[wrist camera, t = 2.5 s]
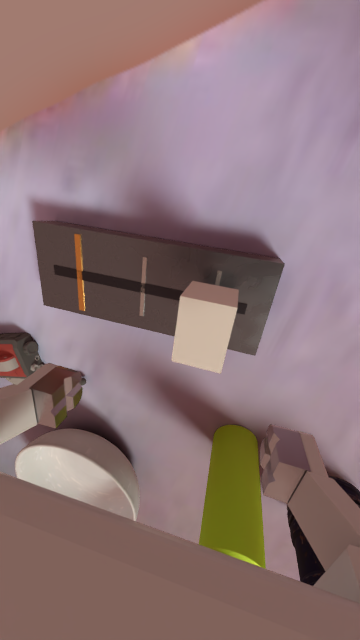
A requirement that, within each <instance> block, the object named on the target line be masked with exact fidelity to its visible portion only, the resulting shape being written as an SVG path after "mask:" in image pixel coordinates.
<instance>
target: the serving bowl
mask: <svg viewBox="0 0 360 640" xmlns="http://www.w3.org/2000/svg"><path fill="white" fill-rule="evenodd" d="M15 471H16V475H17V478H19V479H22V480H24V481H27V482H30V483H33V484H35V485H38V486H41V487H43V488H46V489H49V490H52V491H54V492H57V493H60V494H63V495H65V496H68V497H71V498H74V499H76V500H79V501H82V502H84V503H87V504H90V505H93V506H95V507H98V508H101V509H104V510H106V511H109V512H112V513H115V514H117V515H120V516H123V517H126V518H128V519H131V520H134V521H136V518H137V514H138V510H139V502H140V490H139V484H138V479H137V476H136V473H135V471H134V469H133V467H132V465H131V463H130V462H129V460H128V459H127V458H126V456H125V455H124V454H123V453H122V452H121V451H120V450H119V449H118V448H117V447H116V446H115V445H113V444H112V443H111V442H109V441H108V440H106V439H104V438H102V437H100V436H99V435H96V434H94V433H91V432H88V431H85V430H80V429H59V430H54V431H51V432H48V433H46V434H43V435H42V436H40V437H38V438H36V439H35V440H33V441H32V442H31V443H29V444H28V445H27V446H26V447H24V448H23V449H22V450H21V451H20V452H19V453H18V455H17V457H16V461H15Z"/></svg>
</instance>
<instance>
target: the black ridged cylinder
mask: <svg viewBox="0 0 360 640" xmlns="http://www.w3.org/2000/svg"><path fill="white" fill-rule="evenodd" d="M328 477H329V478H332V479H334V480H335V481H336V482H337V484H338V485H339V486H340V487H341V488H342V489H343V490H344V491H345V492H346V493H347V495H348V496H349V497H350V498H351V499H352V500H353V501H354V502H355V503H356V504H357V506H358V507H359V508H360V491H359V490H358V489H357V488H356V487H354V486H353V485H351V484H350V483H348V482H346V481H344V480H341V479H339V478H335V477H331V476H328ZM287 510H288V513H287V515H288V523H289V527H290V532H291V538H292V543H293V546H294V547H295V549H296V556H297V562H298V569H299V575H300V581H301V582H303V583H306V584H308V585H311V586H314V584H315V583H316V582H317V581H318V580H319V579H320V577H321V576H322V575H323V574H324V573H325V572H326V571H325V570H324V568H323V566H322V564H321V563H320V561H319V559H318V557H317V556H316V554H315V552H314V550H313V549H312V547H311V545H310V543H309V542H308V540H307V538H306V536H305V535H304V533H303V531H302V529H301V528H300V526H299V524H298V522H297V521H296V519H295V517H294V515H293V514H292V512H291V510H290V508H289V507H288V503H287Z"/></svg>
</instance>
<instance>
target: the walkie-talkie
mask: <svg viewBox="0 0 360 640" xmlns="http://www.w3.org/2000/svg"><path fill="white" fill-rule="evenodd" d="M42 366H44V364H43V363H42V361H41V359H40V356H39V354H38V344H37V343H36V342H35V341H33V340H32V337H31V335H30V334H28V333H5V334H3V333H2V334H0V377H1V378H2V377H3V378H6V380H8V381H10V382H11V383H13V384H15V385H18V384H19V383H20V382H22V381H23V380H24V379H26V378H27V377H29V376H30V375H31V374H33V373H34V372H35V371H37V370H38V369H39V368H41V367H42ZM79 383H80V385H84V384H85V383H86V379H85V378H82V380H81V381H80V382H79Z"/></svg>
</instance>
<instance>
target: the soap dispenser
mask: <svg viewBox="0 0 360 640" xmlns="http://www.w3.org/2000/svg"><path fill="white" fill-rule="evenodd" d="M199 545H202V546H205V547H207V548H210V549H213V550H215V551H218V552H221V553H224V554H226V555H229V556H232V557H235V558H237V559H240V560H243V561H245V562H248V563H251V564H254V565H256V566H259V567H262V568H265V552H264V536H263V520H262V505H261V489H260V473H259V457H258V442H257V439H256V437H255V435H254V434H253V433H252V432H251V431H249V430H248V429H246V428H244V427H241V426H238V425H225V426H222V427H220V428H218V429H217V430H216V432H215V433H214V437H213V445H212V452H211V459H210V467H209V474H208V481H207V489H206V496H205V503H204V511H203V518H202V525H201V533H200V540H199ZM265 569H266V568H265Z"/></svg>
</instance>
